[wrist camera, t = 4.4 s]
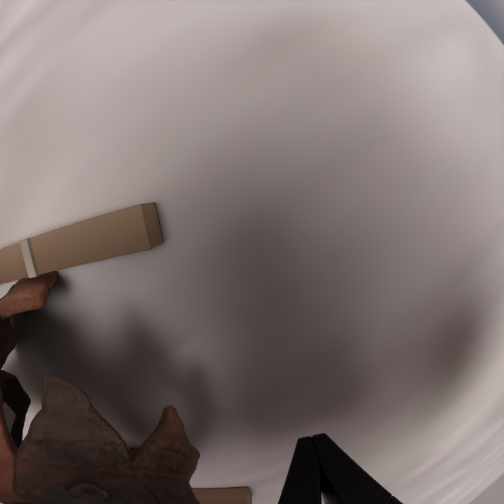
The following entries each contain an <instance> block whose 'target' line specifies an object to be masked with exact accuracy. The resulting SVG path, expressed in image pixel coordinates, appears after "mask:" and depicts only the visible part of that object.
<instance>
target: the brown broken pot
mask: <svg viewBox="0 0 504 504" xmlns="http://www.w3.org/2000/svg"><path fill="white" fill-rule="evenodd" d="M57 278H58V275H57V272H56V271H52V272H48V273H44V274H39V275H38V276H36V277H32V278H29V277H27V278H23V279H21V280H19V281H18V282H17V283H16V284H14V285H13V286H12V287H11V288H10V290H9V291H8V293H7V294H6V295H5V296H4V297H2V298H1V299H0V503H2V504H200V502H199V501H198V500H197V498H196V497H195V495H194V493H193V491H192V488H191V486H190V484H189V481H190V478H191V476H192V475H193V473H194V471H195V470H196V466H197V463H198V460H199V457H200V453H199V452H198V450H197V449H196V448H195V447H193V446H192V445H191V444H190V442H189V440H188V438H187V436H186V434H185V431H184V426H183V424H182V421H181V419H180V417H179V415H178V413H177V411H176V409H175V408H174V407H173V406H167V407H166V408H165V409H164V411H163V414H162V417H161V420H160V421H159V423H158V425H157V427H156V429H155V430H154V432H153V433H152V434H151V435H150V436H149V437H148V438H147V440H146V441H145V442H144V443H143V444H142V445H141V446H140V448H139V449H136V448H135V449H132V450H130V451H127V448H126V444H125V442H124V440H123V439H122V438H121V436H120V435H119V433H118V432H117V431H116V430H115V429H114V428H113V427H112V426H111V425H110V424H109V423H108V422H107V421H106V420H105V419H104V418H103V417H102V416H101V415H100V414H99V413H98V412H97V411H96V410H95V409H94V407H93V406H92V404H91V402H90V400H89V398H88V396H87V395H86V394H85V393H84V391H82V390H81V389H80V388H79V387H78V386H76V385H74V384H73V383H71V382H69V381H66V380H64V379H62V378H60V377H58V376H55V375H46V376H45V377H44V388H43V394H42V409H41V410H40V411H39V412H38V413H37V414H36V416H35V417H34V419H33V420H32V422H31V424H30V428H29V431H28V434H27V435H26V437H25V438H24V440H23V441H22V436H23V427H24V422H25V417H26V413H27V411H28V408H29V405H30V403H31V399H30V398H29V396H28V394H27V393H26V392H25V391H24V390H23V388H22V386H21V384H20V382H19V380H18V378H17V377H16V376H14V375H13V374H10V373H8V372H6V371H4V370H1V368H2V367H3V365H4V364H5V361H6V359H7V357H8V355H9V354H10V353H11V351H12V350H13V349H14V348H15V347H16V344H17V341H16V338H15V336H14V333H13V331H12V326H11V323H10V316H12V315H14V314H18V313H20V312H26V311H30V310H35V309H40V308H42V307H44V306H45V304H46V301H47V296H48V290H49V289H50V288H51V287H52V286H53V285H54V284H55V282H56V280H57Z"/></svg>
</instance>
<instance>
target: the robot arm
mask: <svg viewBox="0 0 504 504" xmlns="http://www.w3.org/2000/svg"><path fill="white" fill-rule="evenodd" d="M321 494H322V497H323V500H324V502H325V504H403V503H402V502H400V501H399V500H398V499H397V498H395V497H394V496H392V494H391V493H389V492H388V491H387V490H386V489H385V488H384V487H382V486H381V485H380V484H379V483H378V482H377V481H376V480H374V479H373V478H372V477H371V476H370V475H369V474H368V473H367V472H365V471H364V470H363V469H362V468H361V467H360V466H359V465H358V464H357V463H356V462H355V461H354V460H352V459H351V458H350V457H349V456H348V455H347V454H346V453H345V452H344V451H343V450H342V449H341V448H340V447H339V446H338V445H337V444H336V443H335V442H334V441H333V440H332V439H331V438H330V437H329V436H328V435H326V434H325V433H321V434H316V435H313V436H312V437H311V436H307V437H302V438H299V439H298V440H297V444H296V447H295V451H294V454H293V458H292V461H291V464H290V468H289V471H288V474H287V477H286V481H285V484H284V487H283V490H282V493H281V496H280V499H279V502H278V504H322V499H321Z"/></svg>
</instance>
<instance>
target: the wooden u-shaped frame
mask: <svg viewBox="0 0 504 504" xmlns="http://www.w3.org/2000/svg"><path fill="white" fill-rule="evenodd" d="M162 242H163V238H162V233H161V229H160V224H159V220H158V215H157V210H156V205H155V203H148V204H140V205H137V206H133V207H129V208H125V209H122V210H118V211H115V212H111V213H108V214H104V215H101V216H97V217H94V218H91V219H87V220H84V221H81V222H78V223H75V224H71V225H68V226H65V227H62V228H59V229H56V230H53V231H50V232H47V233H44V234H41V235H39V236H36V237H33V238H28V239H25V240H22V241H20V242H19V243H17V244H14V245H11V246H9V247H6V248H4V249H1V250H0V284H3V283H7V282H11V281H15V280H19V279H23V278H27V277H29V278H32V277H36V276H38V275H39V274H44V273H48V272H52V271H56V270H60V269H65V268H69V267H73V266H78V265H82V264H86V263H91V262H95V261H100V260H104V259H109V258H113V257H118V256H122V255H127V254H131V253H136V252H141V251H145V250H150V249H152V248H154V247H156V246H157V245H159V244H160V243H162ZM192 491H193V493H194V495H195V497H196V498H197V500H198V501H199V502H200V504H252V496H251V494H250V492H249V490H248V488H247V487H241V488H223V489H192Z"/></svg>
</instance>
